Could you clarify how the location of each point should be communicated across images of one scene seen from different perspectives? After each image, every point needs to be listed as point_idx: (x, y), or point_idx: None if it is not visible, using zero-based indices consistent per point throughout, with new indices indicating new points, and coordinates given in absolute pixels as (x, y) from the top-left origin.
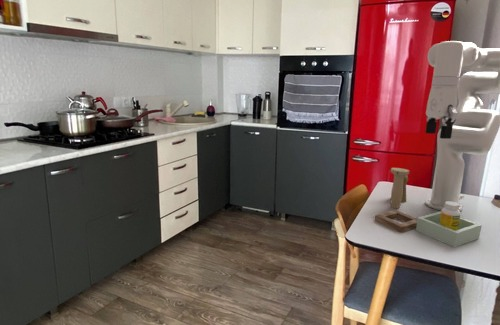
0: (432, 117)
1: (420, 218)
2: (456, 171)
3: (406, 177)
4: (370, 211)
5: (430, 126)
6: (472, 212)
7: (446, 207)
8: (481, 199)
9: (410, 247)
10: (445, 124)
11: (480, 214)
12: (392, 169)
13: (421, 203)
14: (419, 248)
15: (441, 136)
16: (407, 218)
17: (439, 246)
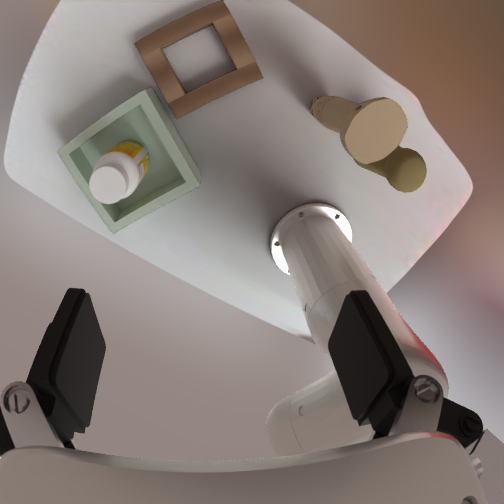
0: (233, 463)
1: (138, 94)
2: (308, 313)
3: (394, 181)
4: (292, 20)
5: (361, 358)
6: (267, 281)
7: (105, 163)
8: None
9: (66, 46)
10: (1, 395)
11: (255, 290)
12: (385, 101)
13: (338, 197)
14: (61, 64)
15: (67, 300)
16: (203, 85)
17: (71, 111)
